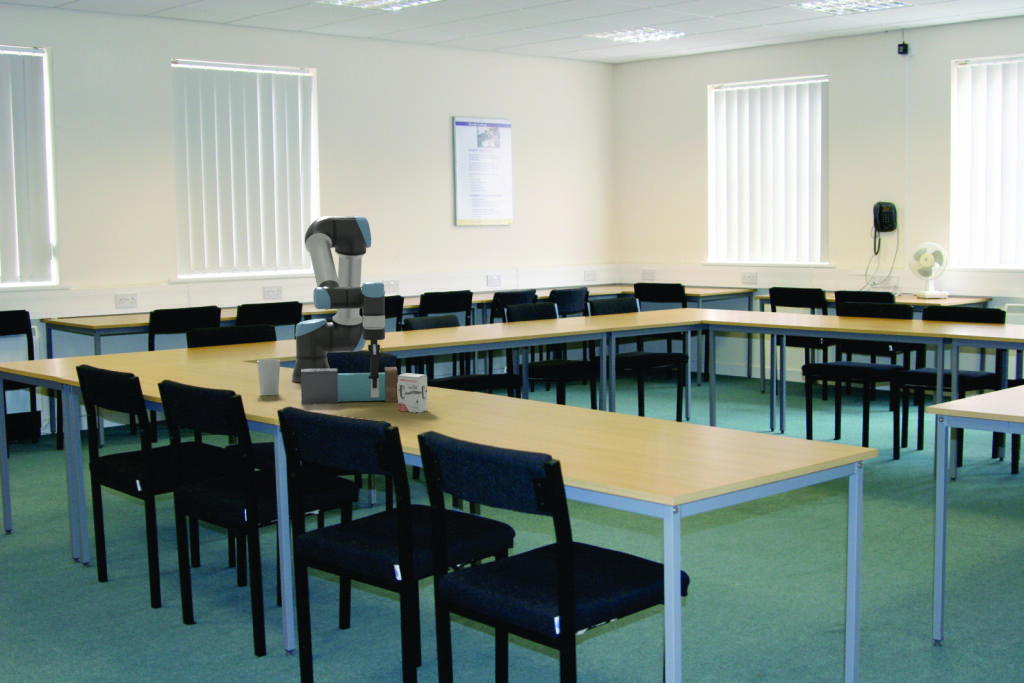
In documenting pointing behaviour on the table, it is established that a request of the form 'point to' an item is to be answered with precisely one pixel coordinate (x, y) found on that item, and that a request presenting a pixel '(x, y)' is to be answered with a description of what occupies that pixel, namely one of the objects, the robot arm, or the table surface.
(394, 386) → the socket
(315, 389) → the dark gray box
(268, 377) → the cup
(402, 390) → the ink box
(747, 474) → the table surface
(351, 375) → the teal rectangular box
